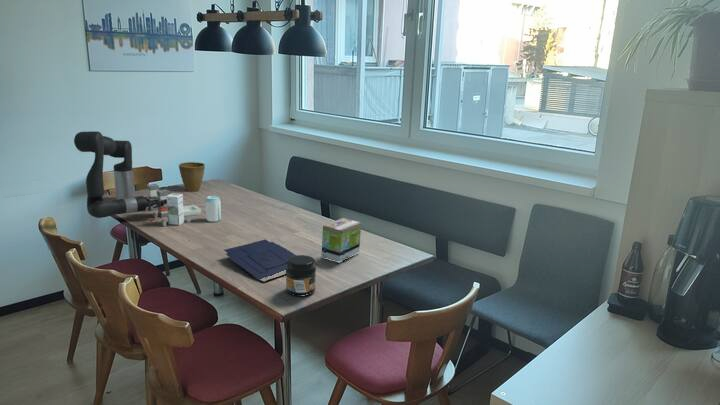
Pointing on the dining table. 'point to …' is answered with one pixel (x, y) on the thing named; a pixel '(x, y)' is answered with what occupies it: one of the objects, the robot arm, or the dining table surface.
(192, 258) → the dining table surface
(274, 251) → the dark blue book
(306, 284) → the supplement container
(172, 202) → the syrup box
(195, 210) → the tray
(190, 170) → the plant pot
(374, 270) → the dining table surface
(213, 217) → the can
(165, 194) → the marked fuse
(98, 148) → the robot arm
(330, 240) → the tea box
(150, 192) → the block
